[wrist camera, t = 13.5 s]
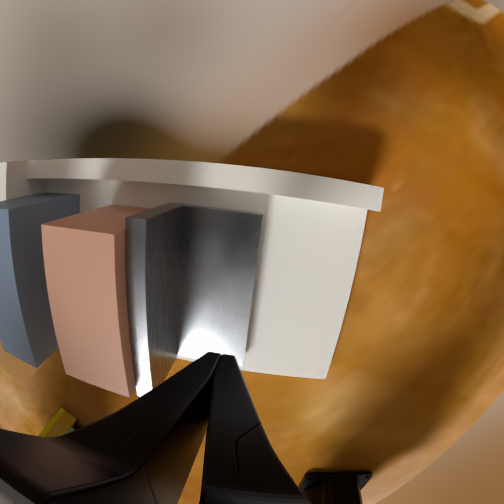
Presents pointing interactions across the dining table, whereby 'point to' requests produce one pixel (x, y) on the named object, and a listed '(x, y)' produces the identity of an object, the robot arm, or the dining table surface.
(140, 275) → the bookend
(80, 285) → the book block
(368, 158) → the dining table surface
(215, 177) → the shelf
